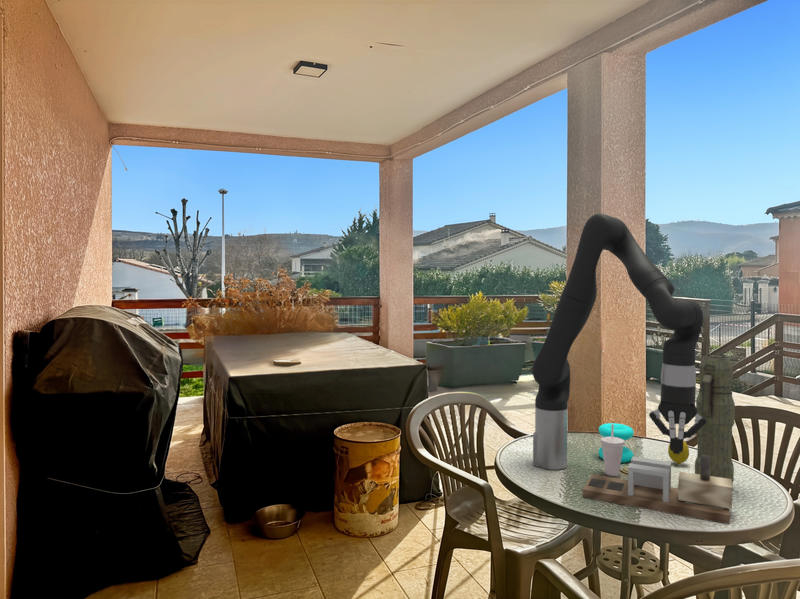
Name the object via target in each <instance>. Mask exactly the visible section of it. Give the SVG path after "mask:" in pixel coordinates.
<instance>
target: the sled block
mask: <svg viewBox="0 0 800 599" xmlns="http://www.w3.org/2000/svg"><path fill="white" fill-rule="evenodd" d="M678 474H679V475H678V484H677V485H678V486H677V488H678V500H682V501H687V502H693V503H699V504H705V505H711V506H716V507H722V508H728V509H729V510H732V509H733V491H732V487H733V484H732V480H731V479H727V478H720V477H713V476H710V456H708V455H701V460H700V474H695V473H693V472H686V471H679V473H678Z"/></svg>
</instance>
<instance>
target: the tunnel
mask: <svg viewBox="0 0 800 599" xmlns="http://www.w3.org/2000/svg"><path fill="white" fill-rule="evenodd" d="M627 480H628V495H630V496H633V495H634V485H639V486H645V487H651V488H657V489H663V501H664V502H669V491H671V487H672V461H668V460H661V459H656V458H655V459H652V458H647V457H640V456H633V457H632V459H631V461H630V463H629V464H628V466H627Z"/></svg>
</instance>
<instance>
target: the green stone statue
mask: <svg viewBox="0 0 800 599" xmlns="http://www.w3.org/2000/svg"><path fill="white" fill-rule="evenodd" d="M698 367H699V369H698V370H699V373H698V385H699V389H698V395H697V396H696V398H695V406H696V408H697V413H698V414H700V415H701V416H702V417H705V418H706V423H705V424H704V425H703V426H702V427H701V428H700V429H699V430H698V431H697V448H696V449H697V450H696V451H697V455H696V459H695V461H694V474H700V460H701V455H708V456H710V476H713V477H720V478H727V479H731V480H732V485H733V484H734V483H733V482H734V480H735V479H734V476H735V471H734V470H735V468H734V463H733V459H732V456H733V454H732V453H733V427H734V424H735V417H736V416H735V414H736V412H735V411H736V410H735V408H736V407H735V406H736V405H735V401H734V398H733V391H732V387H733V379H734V378H733V376H734V374H733V372H734V370H733V364H732V362H731V360H730V357H728V356H726V355H724V354H715V353H714V354H713V353H711V354H710V353H709V354H705V355H703V356H702V357H701V360H700V363H699V366H698ZM733 490H734V488H733V486H732V492H733Z"/></svg>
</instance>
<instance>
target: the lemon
mask: <svg viewBox="0 0 800 599" xmlns="http://www.w3.org/2000/svg"><path fill="white" fill-rule="evenodd" d="M689 449H690V448H689V446H688V444H687V442H686V441H685V440H683V451H682V452H680V454H674V453H673V451H671V450H670V443H669V444H668V449H667V450H668V451H667V452H668V456H669V458H670V460H672V462H675V464H676V465H681V464H683V463H685V462H686V461H687V460H688V459H689V455H690V450H689Z"/></svg>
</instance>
